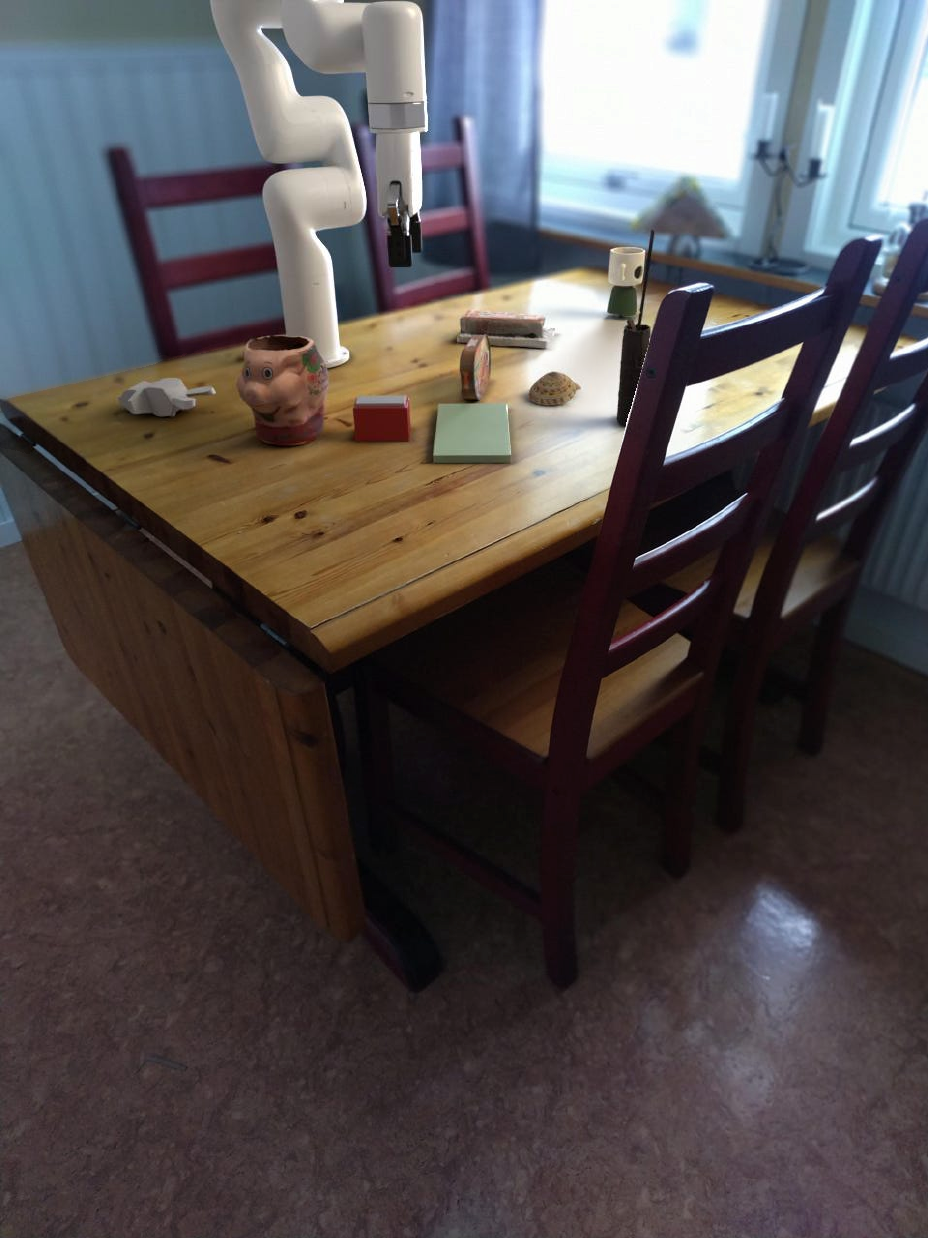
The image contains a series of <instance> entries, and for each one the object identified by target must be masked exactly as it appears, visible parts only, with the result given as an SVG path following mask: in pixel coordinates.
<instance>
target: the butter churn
mask: <svg viewBox="0 0 928 1238" xmlns="http://www.w3.org/2000/svg"><path fill="white" fill-rule="evenodd" d="M654 239H655V230H654V229H651V230H650V234H649V241H648V249H647V254H646V255H647V256H646V263H645V269H644V270H645V271H644V278H643V286H642V291H641V298H640V303H639V309H638V311H639V313H638V318H637V323H635V319H633V318H628V319H627V320H626V323H627V324H625V325H624V326H623V331H622V339H621V351H620V352H621V354H620V362H619V363H620V365H619V366H620V367H619V383H618V385H619V386H618V391H617V406H616V407H617V409H616V423H617V425H619V426H621V427H624V428H626V427H625V426H626V422H627V418H628V414H629V412H630V409H631V406H632V402H633V398H634V395H635V391H636V388H637V384H638V381H639V377H640V373H641V370H642V365H643V362H644V358H645V354H646V352H647V348H648V345H649V338H650V335H651V336H652V334H651V329H652V328H651V326H650V325H648V324H644V323H643V324H642V320H643V319H642V318H643V313H644V305H645V299H646V292H647V285H648V280H649V272H650V267H651V259H652V252H653V247H654Z"/></svg>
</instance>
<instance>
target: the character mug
mask: <svg viewBox="0 0 928 1238" xmlns="http://www.w3.org/2000/svg"><path fill="white" fill-rule="evenodd" d="M645 257H646V250H645V249H644V248H639V247H635V246H633V247H631V246H619V247H614V248H611V249H610V250H609V263H608V275H607V282H608V283H609V284H611V285H613V286H612V288H611V290H610V294H609V299H608V304H607V310H606V313H607V314H609V315H612V316H613V315H614V316H618V317H619V318H622V317H625V318H628V317H634V316H636V315H637V314H638V291H637V288H636V287H637V286H638V285H641V284H642V282H643V280H644V278H643V277H644V270H645V269H644V267H645V259H646V258H645Z"/></svg>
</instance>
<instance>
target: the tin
mask: <svg viewBox="0 0 928 1238" xmlns="http://www.w3.org/2000/svg"><path fill="white" fill-rule="evenodd" d="M459 373H460V383H461V395H462V397H463V399H464V400H470V401H471V400H477V401H481V400H482V398H483V396H484V393H485V392H486V390H487V387H488V385H489V383H490V380H491V373H492V350H491V345H490V341H489V337H488V335H487V334H485V335H474V336H472V337H471V338H470V339H469V341H468V343H466V344H465V346H464V348H463V349H462V351H461V354H460V359H459Z"/></svg>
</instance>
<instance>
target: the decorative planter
mask: <svg viewBox="0 0 928 1238" xmlns="http://www.w3.org/2000/svg"><path fill="white" fill-rule="evenodd" d="M242 356H243V367H242V370H241V371H240V373H239V374H238V376H237V380H236V388H237V389H236V390H237V392H238V394H239V397H240V398H241V400H242V401H243V402H244V403H245V404H246V405H247V406H248V407H249V408H250V409H251V412H252V414H253V419H254V425H255V427H254V428H255V434H256V437H257V438H258V439H259V440H260V441H262V442H264V443H267V444H272V445H278V446H279V445H280V446H297V445H303V444H307V443H309V442H312V441H313V440H315V439H317V438H318V437H319V436H320V435H321V433H322V431H323V428H324V422H325V412H326V411H325V407H326V399H327V394H328V389H329V381H330V379H329V377H330V376H329V371H328V368H327V367H326V365H325V362H324V360H323V359H322V357H321V356H320V354H319V352H318V350H317V348H316V345H315V343H314V341H313V340H312V339H310V338H307V337H302V336H291V335H286V334H277V335H266V336H261V337H256V338H250V339H249V340H248V342H247V343H246V344H245V346H244V348H242Z"/></svg>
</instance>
